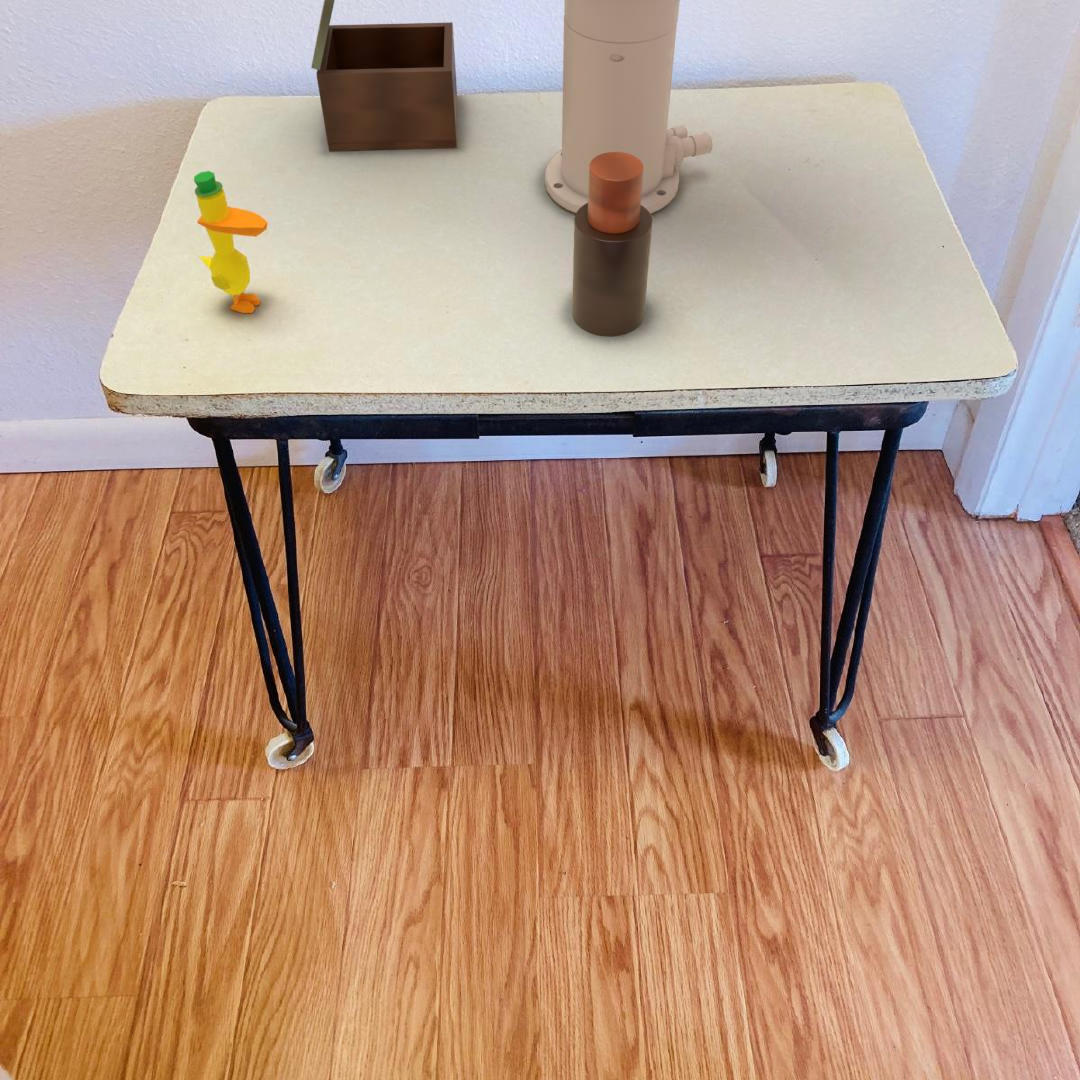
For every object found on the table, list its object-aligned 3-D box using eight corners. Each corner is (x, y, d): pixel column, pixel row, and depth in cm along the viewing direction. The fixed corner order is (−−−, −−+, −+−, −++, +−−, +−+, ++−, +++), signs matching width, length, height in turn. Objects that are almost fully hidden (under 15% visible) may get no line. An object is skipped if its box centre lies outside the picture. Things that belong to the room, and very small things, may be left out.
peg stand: (625, 284, 93) (631, 190, 86) (656, 325, 89) (665, 231, 82) (560, 301, 91) (562, 207, 85) (590, 343, 88) (594, 249, 81)
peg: (625, 199, 85) (629, 147, 82) (648, 226, 83) (652, 173, 79) (579, 211, 84) (580, 158, 81) (600, 238, 82) (603, 185, 78)
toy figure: (293, 300, 92) (265, 171, 82) (276, 326, 89) (245, 196, 80) (220, 287, 93) (184, 159, 84) (201, 313, 90) (162, 184, 81)
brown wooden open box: (457, 97, 114) (452, 22, 108) (456, 147, 107) (451, 70, 101) (336, 100, 113) (325, 25, 107) (328, 151, 107) (316, 74, 101)
